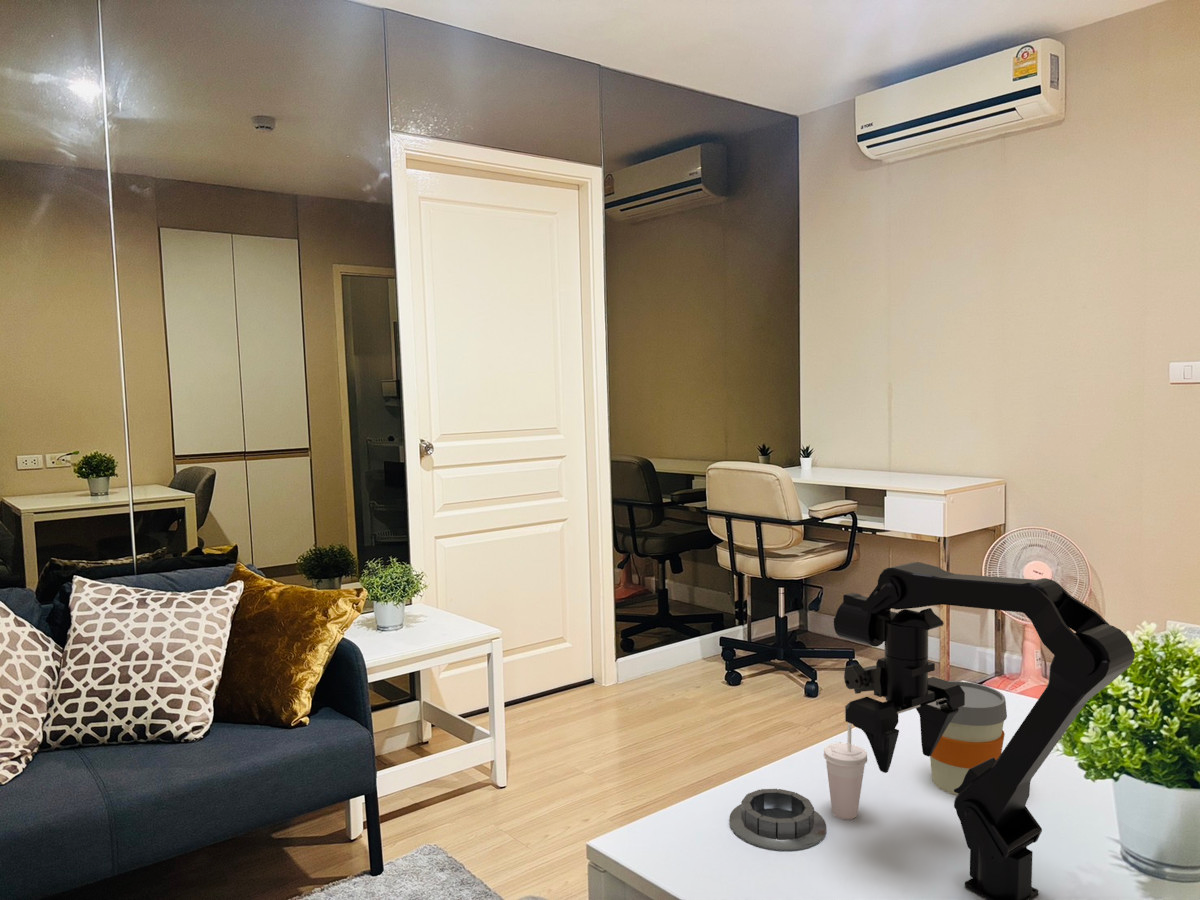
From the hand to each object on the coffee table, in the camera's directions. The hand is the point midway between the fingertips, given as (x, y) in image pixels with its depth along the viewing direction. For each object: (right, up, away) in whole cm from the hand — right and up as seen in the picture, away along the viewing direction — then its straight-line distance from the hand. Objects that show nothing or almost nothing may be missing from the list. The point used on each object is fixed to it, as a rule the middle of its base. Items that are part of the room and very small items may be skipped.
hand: (905, 763), depth 122 cm
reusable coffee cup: (+16, -10, +19) cm, 27 cm away
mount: (-17, -12, +7) cm, 21 cm away
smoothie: (-6, -11, +10) cm, 16 cm away
